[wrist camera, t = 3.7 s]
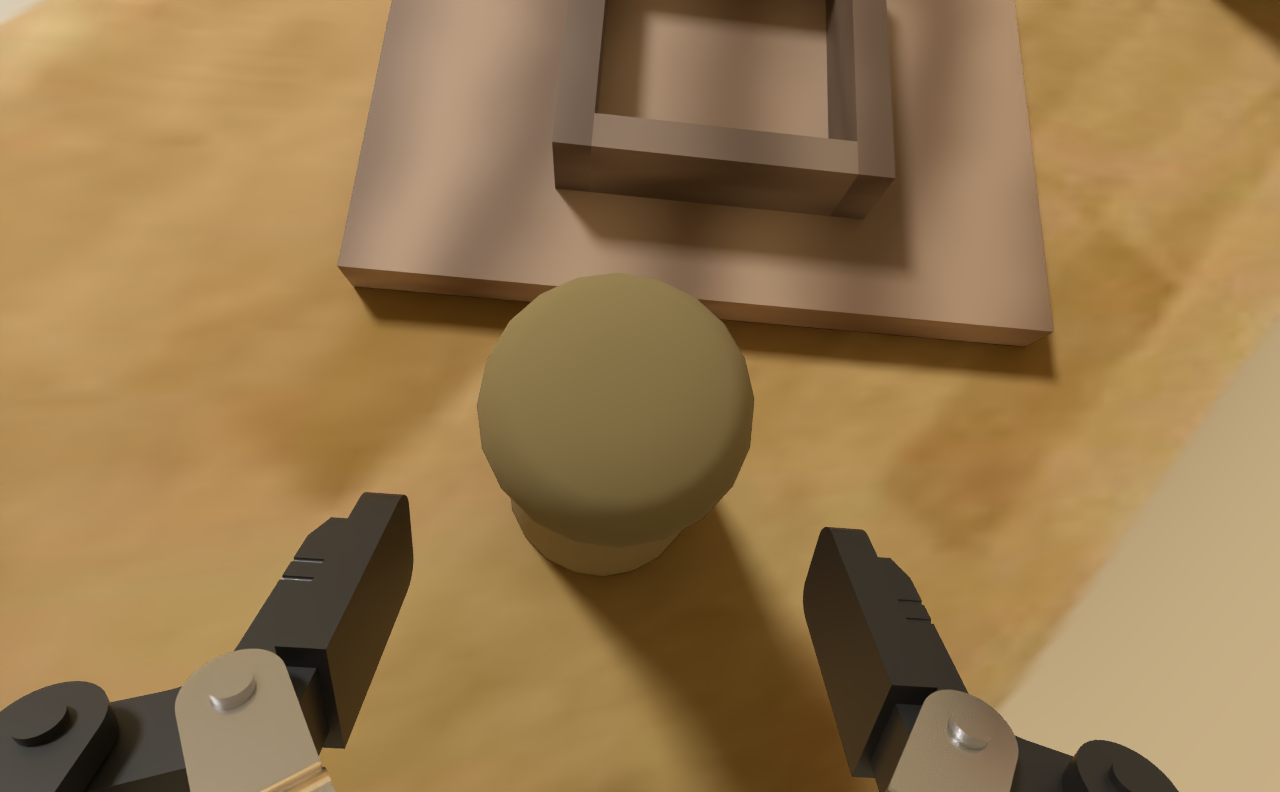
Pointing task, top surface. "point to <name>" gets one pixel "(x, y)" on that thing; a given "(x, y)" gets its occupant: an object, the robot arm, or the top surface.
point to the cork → (614, 419)
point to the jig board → (711, 159)
